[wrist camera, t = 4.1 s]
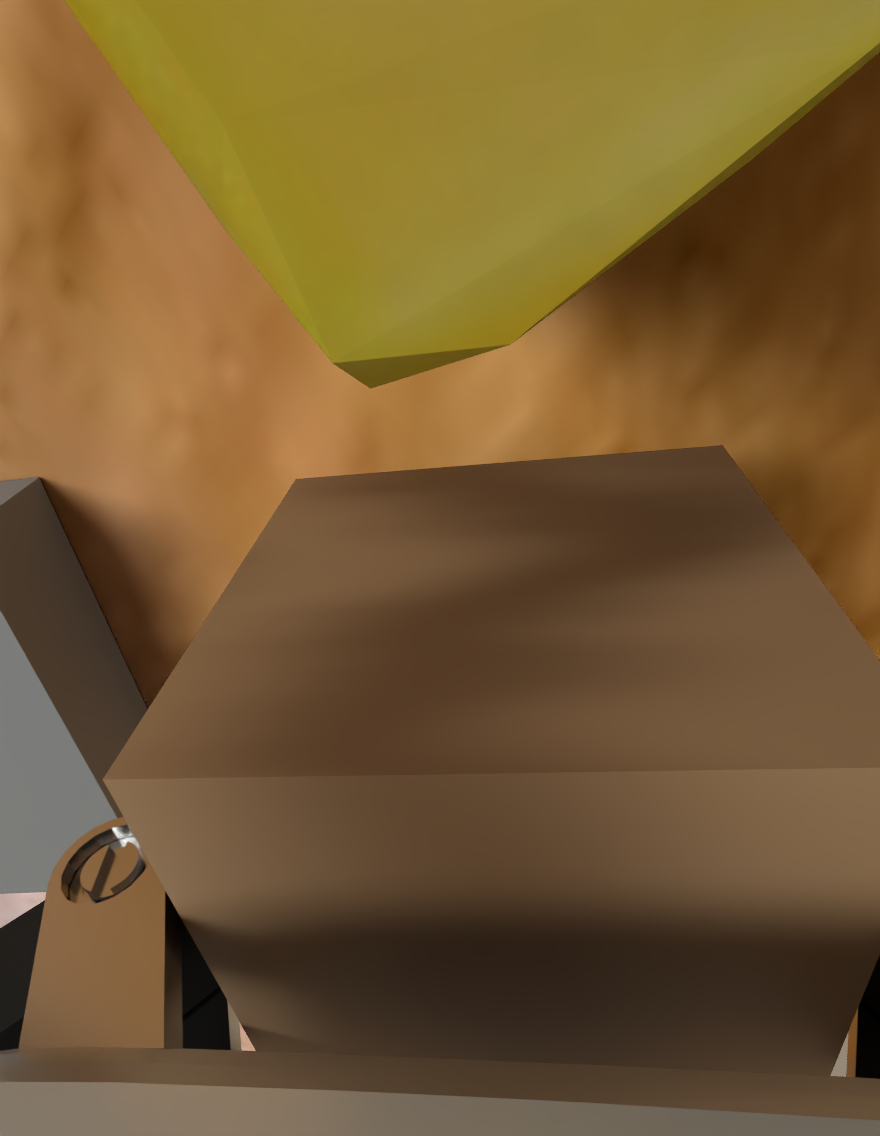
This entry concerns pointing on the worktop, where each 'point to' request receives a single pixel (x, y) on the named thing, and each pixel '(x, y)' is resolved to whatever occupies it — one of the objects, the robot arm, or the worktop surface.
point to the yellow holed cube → (463, 142)
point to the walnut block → (525, 773)
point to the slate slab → (53, 694)
